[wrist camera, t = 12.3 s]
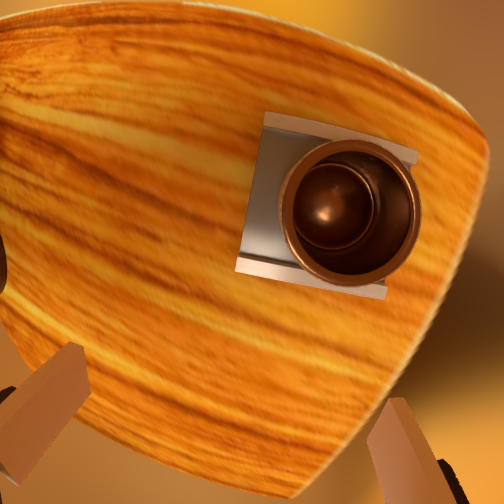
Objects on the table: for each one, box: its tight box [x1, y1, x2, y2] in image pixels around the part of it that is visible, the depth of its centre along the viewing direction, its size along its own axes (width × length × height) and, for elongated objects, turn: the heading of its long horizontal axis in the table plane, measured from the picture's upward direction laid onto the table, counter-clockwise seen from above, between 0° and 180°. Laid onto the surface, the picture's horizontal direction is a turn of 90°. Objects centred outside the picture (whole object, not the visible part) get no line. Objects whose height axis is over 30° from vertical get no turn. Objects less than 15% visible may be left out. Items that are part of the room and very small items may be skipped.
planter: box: [277, 138, 422, 288], centre depth 24 cm, size 11×11×10 cm
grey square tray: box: [235, 111, 418, 300], centre depth 29 cm, size 16×16×3 cm
